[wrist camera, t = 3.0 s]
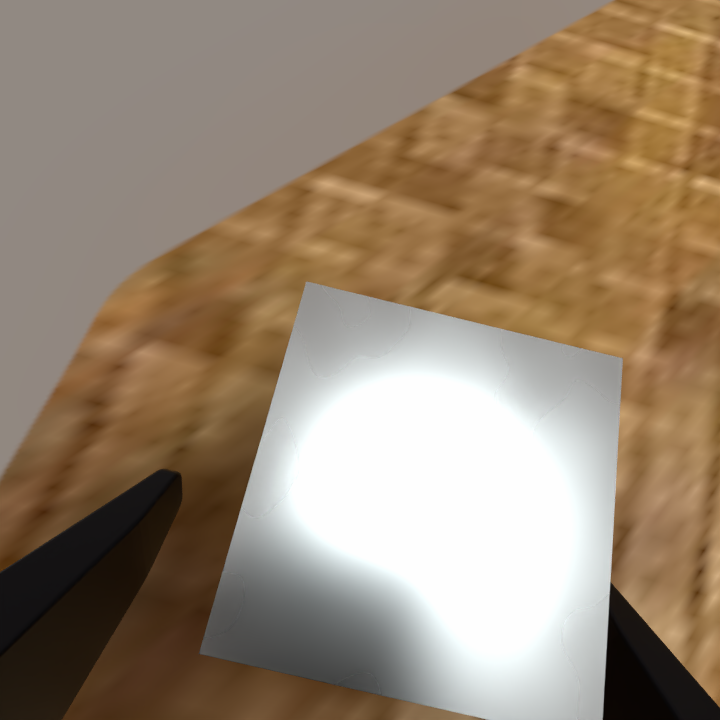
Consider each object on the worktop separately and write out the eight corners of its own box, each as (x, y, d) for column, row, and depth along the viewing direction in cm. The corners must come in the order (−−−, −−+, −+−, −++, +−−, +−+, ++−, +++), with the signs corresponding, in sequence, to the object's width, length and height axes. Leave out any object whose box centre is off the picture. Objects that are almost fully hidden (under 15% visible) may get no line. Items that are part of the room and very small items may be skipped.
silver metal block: (400, 530, 17) (601, 745, 4) (297, 506, 17) (198, 654, 4) (419, 426, 18) (622, 358, 5) (323, 403, 18) (306, 281, 5)
